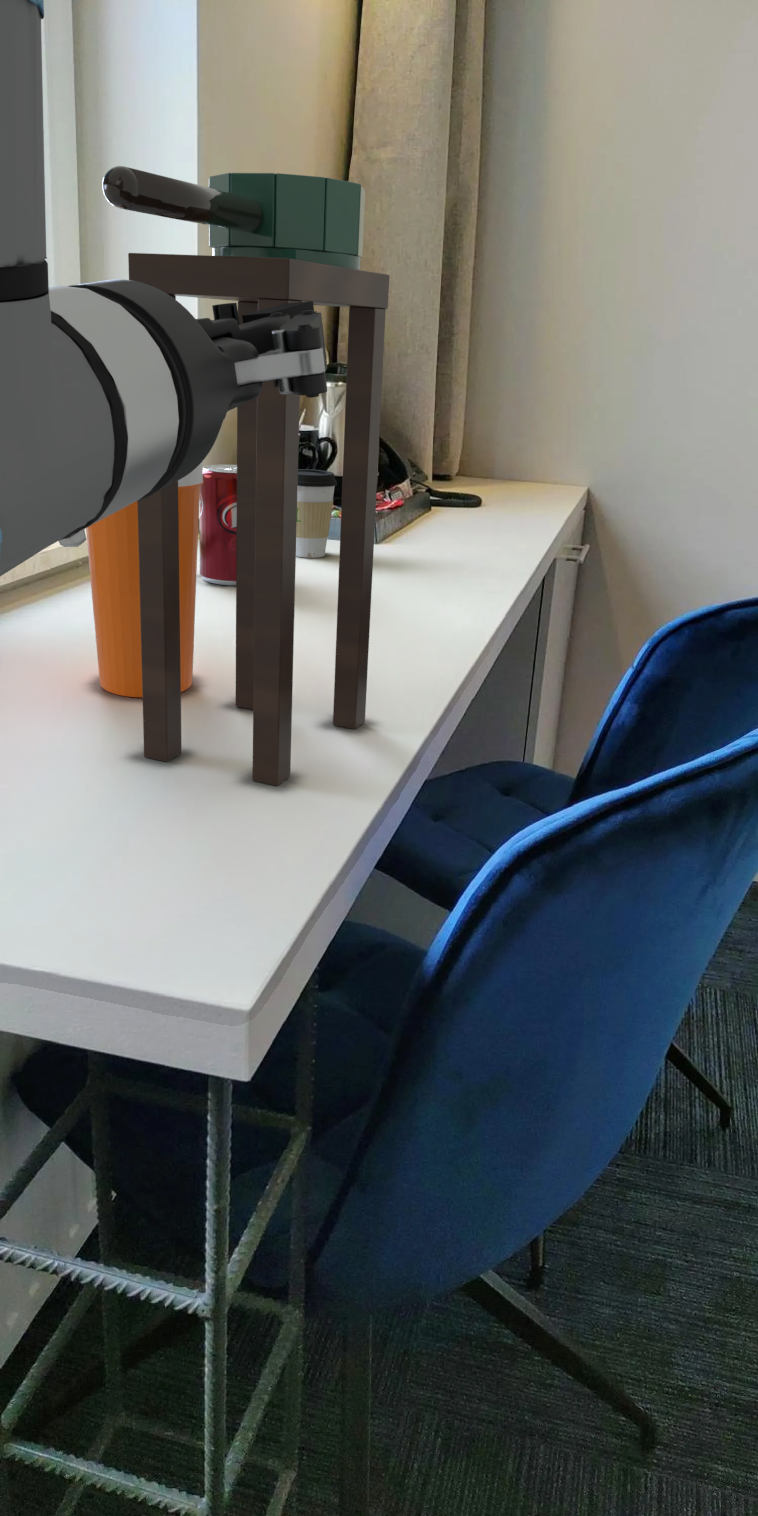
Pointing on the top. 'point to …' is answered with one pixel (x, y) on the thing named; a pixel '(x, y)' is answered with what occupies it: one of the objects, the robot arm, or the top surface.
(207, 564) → the soda can
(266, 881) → the top surface
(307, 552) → the coffee cup
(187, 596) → the shaker bottle
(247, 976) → the top surface
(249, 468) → the tall wooden stool
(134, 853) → the top surface
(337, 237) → the green faceted container
